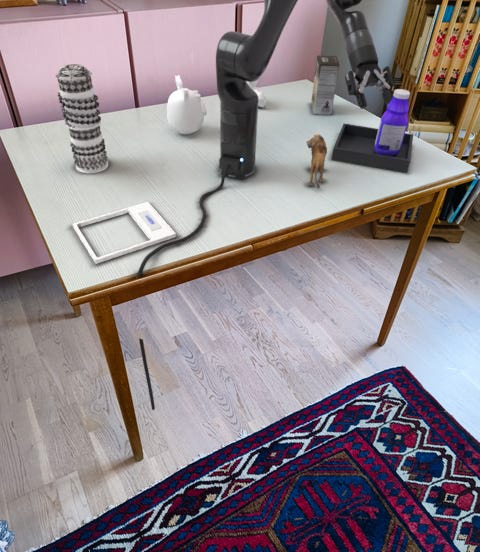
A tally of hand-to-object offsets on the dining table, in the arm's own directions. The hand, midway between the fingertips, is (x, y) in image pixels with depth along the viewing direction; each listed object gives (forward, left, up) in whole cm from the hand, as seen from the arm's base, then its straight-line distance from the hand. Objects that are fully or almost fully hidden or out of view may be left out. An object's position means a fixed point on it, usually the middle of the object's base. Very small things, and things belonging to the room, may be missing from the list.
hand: (376, 105), depth 131 cm
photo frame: (-66, +45, -11) cm, 81 cm away
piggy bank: (-13, +53, -11) cm, 56 cm away
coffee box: (+20, +18, -11) cm, 29 cm away
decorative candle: (-42, +68, -11) cm, 81 cm away
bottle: (-6, -6, -11) cm, 14 cm away
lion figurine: (-25, +11, -11) cm, 30 cm away
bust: (+15, +41, -11) cm, 45 cm away
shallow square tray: (-6, -2, -11) cm, 13 cm away
